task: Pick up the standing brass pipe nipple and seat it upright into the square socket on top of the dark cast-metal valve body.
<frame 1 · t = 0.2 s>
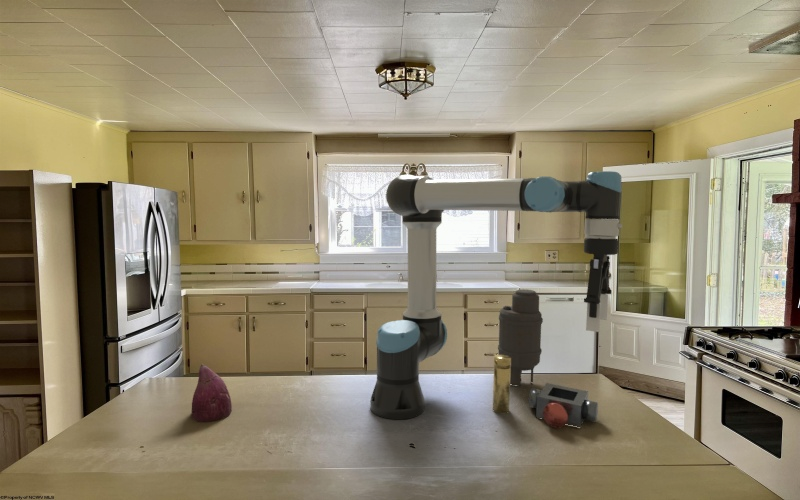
hand: (596, 324, 107), 28 cm above the counter, fingers open, 13 cm apart
vegetable: (212, 414, 119), on the counter
fitting: (500, 410, 123), on the counter
valve body: (562, 415, 120), on the counter
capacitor: (518, 382, 143), on the counter
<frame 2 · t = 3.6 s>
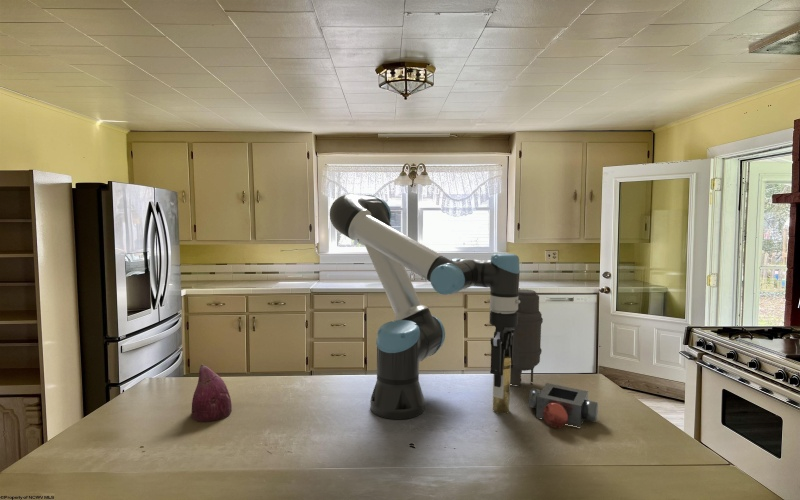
hand: (501, 393, 122), 5 cm above the counter, fingers closed on fitting, 4 cm apart
fitting: (500, 410, 123), on the counter, touching gripper
everything else where it was.
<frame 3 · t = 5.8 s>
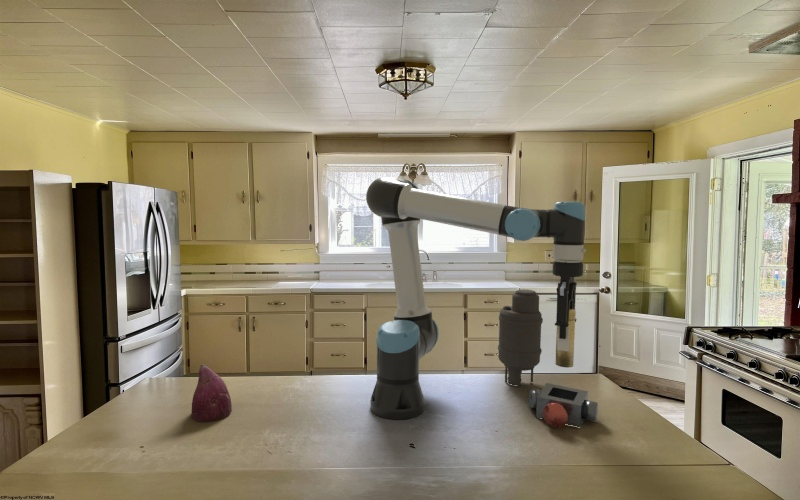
hand: (564, 347, 118), 19 cm above the counter, fingers closed on fitting, 4 cm apart
fitting: (564, 364, 119), point 14 cm above the counter, touching gripper
everything else where it was.
when the fingers open (8 cm above the counter, at t = 8.3 s): fitting stays where it is, resting on valve body.
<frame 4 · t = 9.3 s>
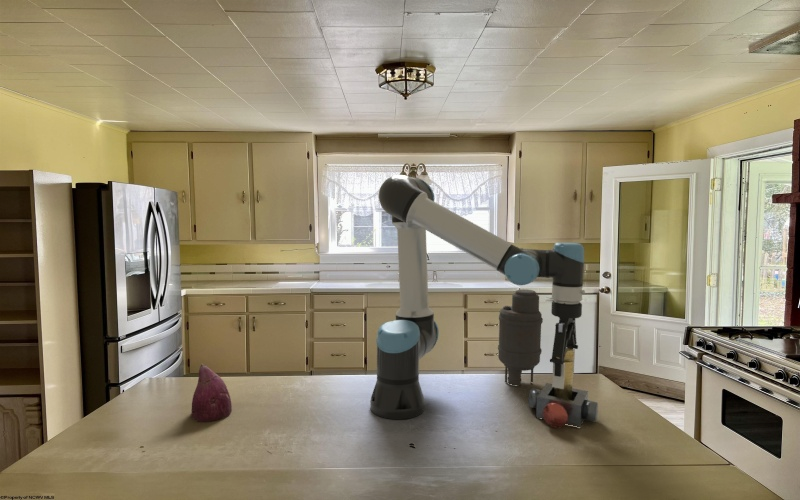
hand: (563, 379, 119), 10 cm above the counter, fingers open, 13 cm apart
fitting: (562, 404, 120), point 3 cm above the counter, touching valve body
everything else where it was.
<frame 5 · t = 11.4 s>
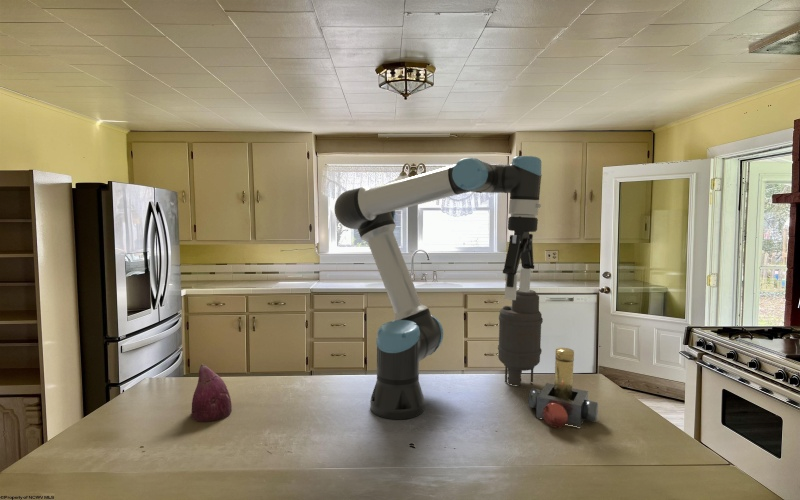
hand: (517, 295, 119), 32 cm above the counter, fingers open, 13 cm apart
nothing on the counter moved.
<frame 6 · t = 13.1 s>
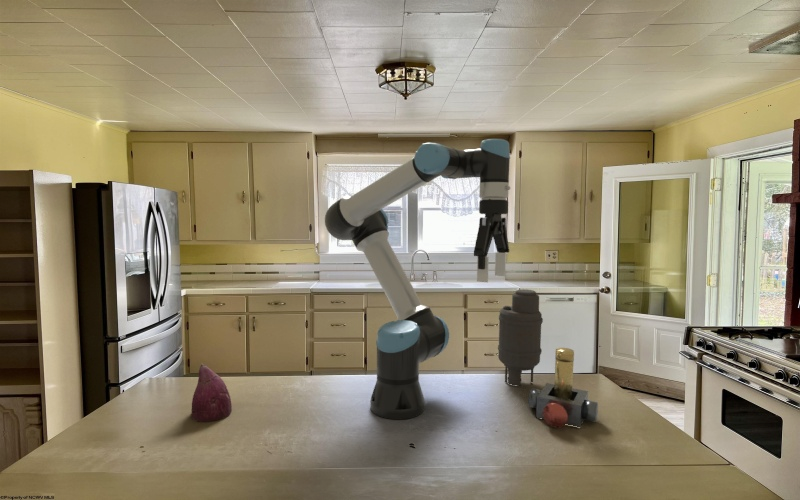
hand: (491, 278, 119), 37 cm above the counter, fingers open, 13 cm apart
nothing on the counter moved.
at the end: fitting 0.0 cm off-centre on the valve body, point 3.0 cm above the valve body's base; fitting tilted 0°; the gripper is holding nothing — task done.
